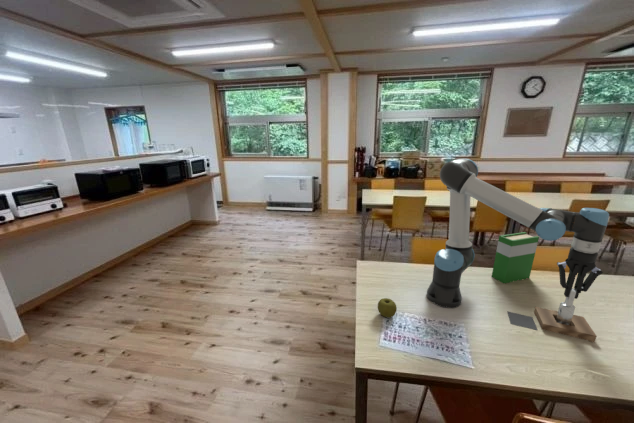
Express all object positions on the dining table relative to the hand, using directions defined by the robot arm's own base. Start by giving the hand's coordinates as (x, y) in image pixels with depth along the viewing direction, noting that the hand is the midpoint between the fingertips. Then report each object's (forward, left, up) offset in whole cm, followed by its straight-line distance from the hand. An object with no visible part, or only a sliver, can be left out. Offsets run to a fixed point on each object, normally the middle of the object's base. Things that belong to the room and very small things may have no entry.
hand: (568, 304), depth 107 cm
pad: (-14, -3, -11) cm, 18 cm away
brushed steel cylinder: (0, 0, -11) cm, 11 cm away
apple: (-66, -23, -11) cm, 71 cm away
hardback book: (-12, +37, -11) cm, 40 cm away
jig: (0, 0, -11) cm, 11 cm away
